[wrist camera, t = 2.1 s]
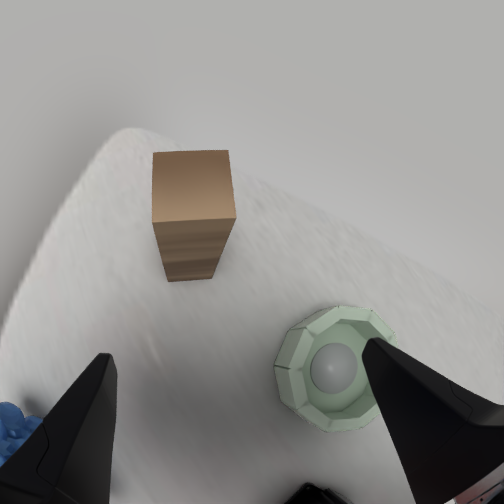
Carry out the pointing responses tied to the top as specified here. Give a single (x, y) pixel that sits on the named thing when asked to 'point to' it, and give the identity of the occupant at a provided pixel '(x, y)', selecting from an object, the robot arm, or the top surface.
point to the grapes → (14, 429)
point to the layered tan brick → (192, 211)
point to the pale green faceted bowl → (330, 368)
